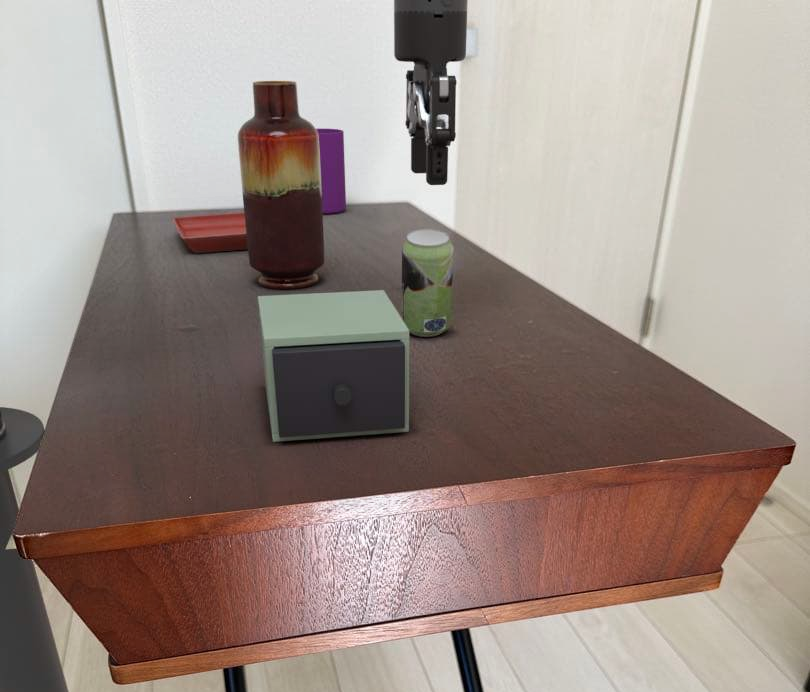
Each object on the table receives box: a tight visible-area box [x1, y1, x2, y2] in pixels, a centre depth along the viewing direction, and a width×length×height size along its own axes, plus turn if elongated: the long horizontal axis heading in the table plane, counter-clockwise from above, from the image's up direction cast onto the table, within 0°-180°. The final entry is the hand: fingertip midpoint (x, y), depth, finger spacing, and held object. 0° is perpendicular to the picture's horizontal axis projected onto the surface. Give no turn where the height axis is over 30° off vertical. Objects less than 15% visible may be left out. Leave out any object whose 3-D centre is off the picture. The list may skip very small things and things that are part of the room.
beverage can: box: [401, 228, 455, 338], centre depth 101 cm, size 6×7×12 cm
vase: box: [237, 80, 325, 290], centre depth 118 cm, size 11×11×26 cm
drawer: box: [272, 340, 405, 437], centre depth 78 cm, size 14×11×8 cm
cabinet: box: [257, 289, 410, 443], centre depth 80 cm, size 14×13×10 cm
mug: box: [316, 128, 347, 216], centre depth 169 cm, size 9×16×15 cm, turn 102°
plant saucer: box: [172, 212, 248, 254], centre depth 147 cm, size 18×18×3 cm
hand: (428, 178), depth 94 cm, fingers open, 8 cm apart
